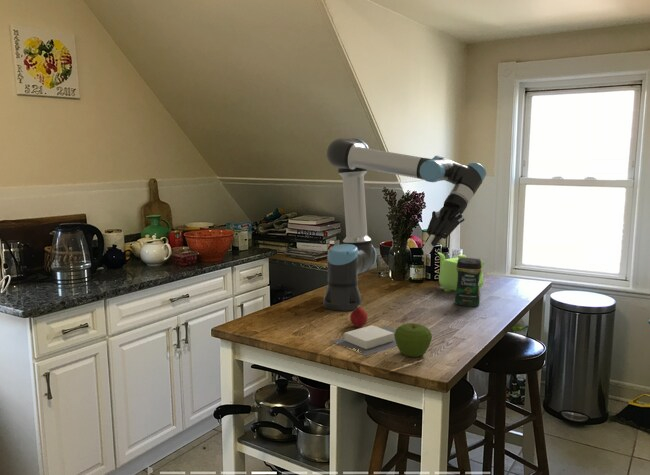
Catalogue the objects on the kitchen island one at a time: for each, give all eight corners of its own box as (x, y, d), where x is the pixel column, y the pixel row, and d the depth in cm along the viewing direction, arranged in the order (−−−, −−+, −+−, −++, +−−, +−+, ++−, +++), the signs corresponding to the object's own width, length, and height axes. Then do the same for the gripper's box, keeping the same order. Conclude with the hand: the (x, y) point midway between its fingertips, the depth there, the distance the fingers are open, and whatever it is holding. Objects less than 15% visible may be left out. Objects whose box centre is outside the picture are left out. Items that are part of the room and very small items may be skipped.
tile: (372, 325, 178) (344, 332, 170) (394, 333, 170) (366, 341, 163) (372, 333, 178) (344, 341, 171) (393, 341, 170) (365, 350, 163)
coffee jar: (453, 305, 212) (455, 259, 209) (455, 300, 220) (457, 255, 217) (479, 308, 209) (481, 260, 206) (480, 302, 216) (482, 257, 214)
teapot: (501, 292, 233) (503, 255, 230) (467, 299, 221) (469, 261, 218) (457, 280, 253) (458, 247, 251) (423, 287, 241) (424, 252, 239)
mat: (384, 327, 186) (384, 326, 186) (419, 340, 173) (419, 338, 173) (330, 342, 171) (330, 341, 171) (364, 357, 158) (364, 355, 158)
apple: (393, 361, 156) (394, 328, 154) (394, 348, 166) (395, 317, 164) (431, 364, 154) (432, 330, 152) (430, 350, 164) (431, 319, 163)
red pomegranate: (362, 332, 181) (362, 309, 180) (347, 329, 184) (347, 306, 183) (370, 327, 186) (370, 304, 185) (355, 324, 189) (355, 302, 188)
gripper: (478, 208, 188) (445, 261, 180) (448, 205, 198) (415, 255, 191) (469, 194, 184) (435, 247, 176) (439, 191, 194) (405, 242, 186)
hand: (425, 251), depth 183 cm, fingers closed
